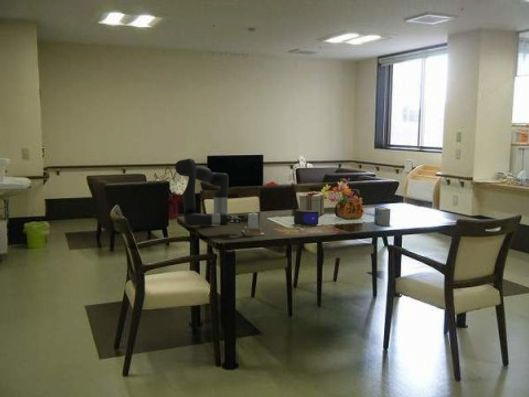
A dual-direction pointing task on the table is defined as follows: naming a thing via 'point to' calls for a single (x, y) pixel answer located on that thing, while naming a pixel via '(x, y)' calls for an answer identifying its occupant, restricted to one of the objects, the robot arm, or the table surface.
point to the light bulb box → (382, 216)
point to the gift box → (312, 202)
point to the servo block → (253, 221)
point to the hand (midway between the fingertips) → (245, 218)
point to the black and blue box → (306, 217)
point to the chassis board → (253, 231)
